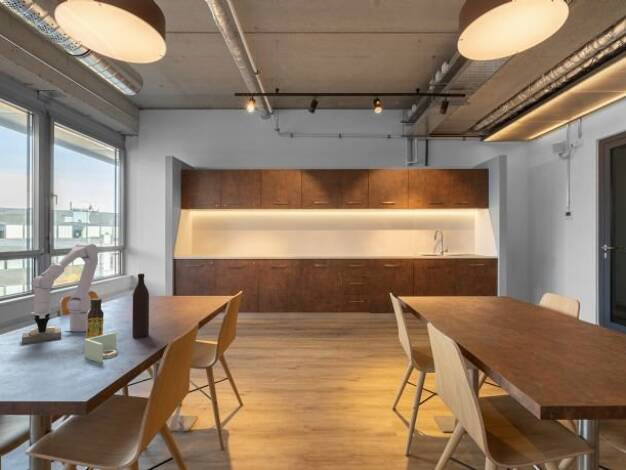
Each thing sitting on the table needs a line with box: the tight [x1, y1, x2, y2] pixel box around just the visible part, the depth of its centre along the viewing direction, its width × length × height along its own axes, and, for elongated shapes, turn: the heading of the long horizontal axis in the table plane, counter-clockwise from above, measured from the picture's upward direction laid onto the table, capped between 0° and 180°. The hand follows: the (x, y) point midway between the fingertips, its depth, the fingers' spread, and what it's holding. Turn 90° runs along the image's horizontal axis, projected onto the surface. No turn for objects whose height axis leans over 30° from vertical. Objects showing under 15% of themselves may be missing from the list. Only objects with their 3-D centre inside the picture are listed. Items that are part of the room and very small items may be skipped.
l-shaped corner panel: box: [83, 332, 118, 364], centre depth 137 cm, size 12×12×8 cm
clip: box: [29, 325, 56, 335], centre depth 158 cm, size 9×3×4 cm, turn 129°
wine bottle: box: [131, 273, 150, 339], centre depth 163 cm, size 7×7×30 cm
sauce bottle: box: [85, 297, 105, 339], centre depth 152 cm, size 6×6×20 cm
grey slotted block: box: [21, 327, 62, 345], centre depth 158 cm, size 14×8×3 cm, turn 129°
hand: (42, 331), depth 158 cm, fingers open, 6 cm apart
